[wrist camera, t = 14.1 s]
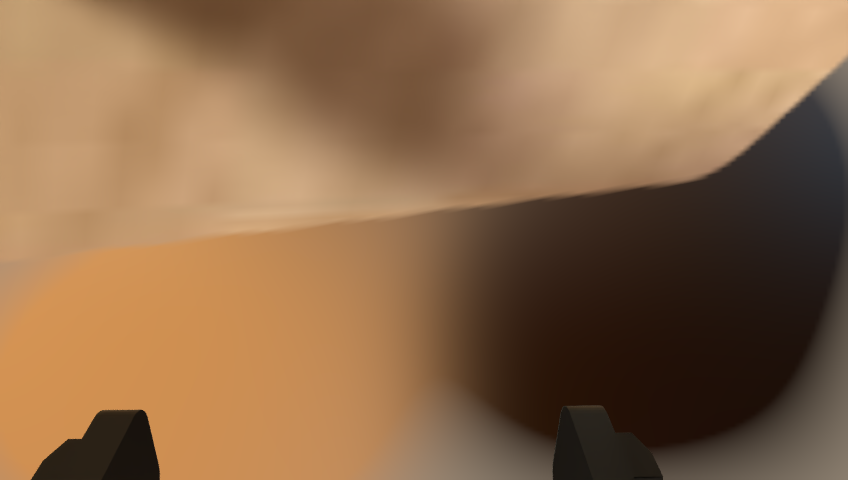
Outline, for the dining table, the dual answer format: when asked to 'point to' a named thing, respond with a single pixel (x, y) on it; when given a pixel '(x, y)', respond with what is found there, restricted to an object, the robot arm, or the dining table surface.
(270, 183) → the dining table surface
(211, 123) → the dining table surface
